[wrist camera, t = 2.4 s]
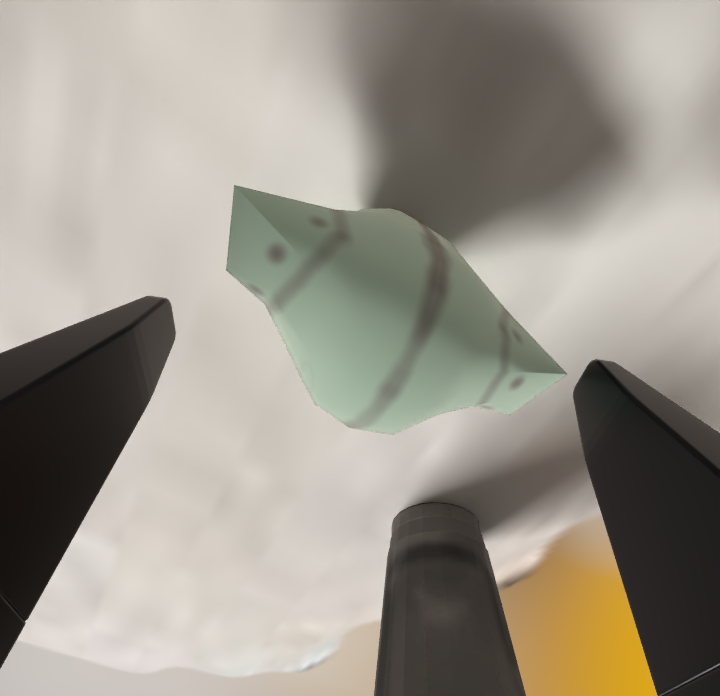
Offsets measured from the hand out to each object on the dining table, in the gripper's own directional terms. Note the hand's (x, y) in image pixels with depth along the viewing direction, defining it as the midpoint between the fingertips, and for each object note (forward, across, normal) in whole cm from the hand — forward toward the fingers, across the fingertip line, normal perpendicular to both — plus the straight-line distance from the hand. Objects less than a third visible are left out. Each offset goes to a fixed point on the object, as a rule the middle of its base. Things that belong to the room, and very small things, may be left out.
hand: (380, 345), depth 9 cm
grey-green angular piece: (+5, 0, 0) cm, 5 cm away
